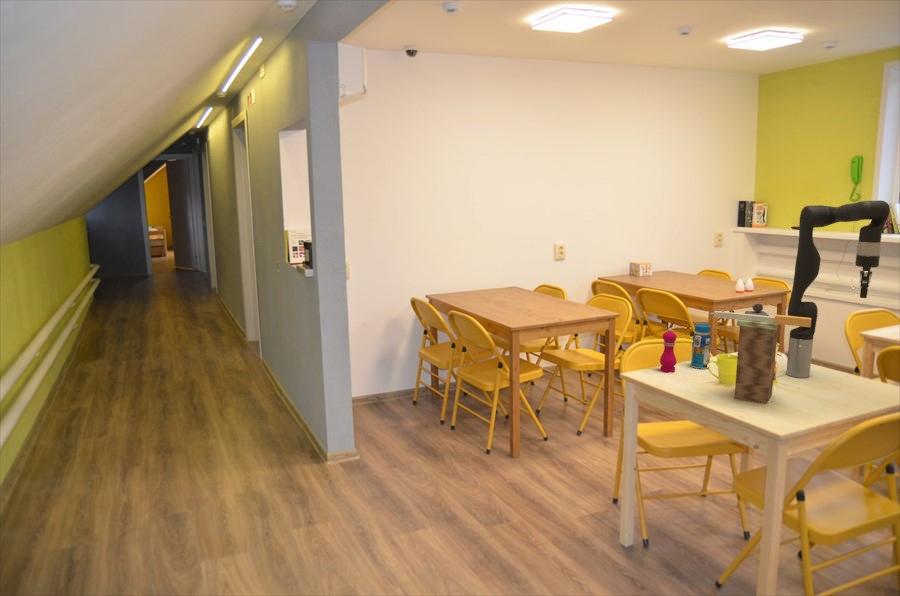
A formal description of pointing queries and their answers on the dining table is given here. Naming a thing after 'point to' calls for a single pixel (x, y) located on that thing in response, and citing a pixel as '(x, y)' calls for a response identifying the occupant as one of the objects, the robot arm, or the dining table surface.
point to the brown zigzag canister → (755, 361)
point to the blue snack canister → (701, 346)
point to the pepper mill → (668, 352)
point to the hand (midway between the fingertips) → (863, 296)
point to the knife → (766, 318)
